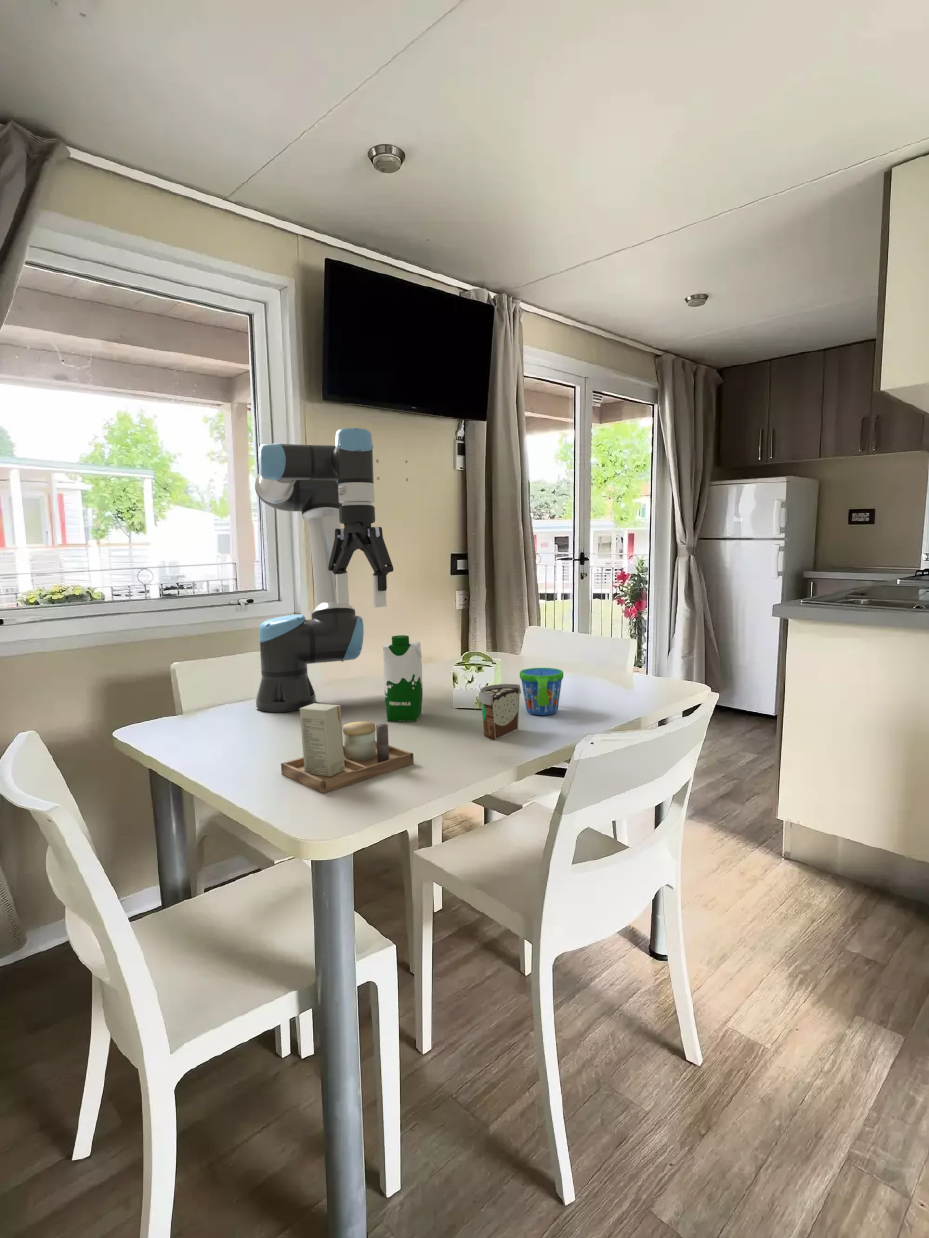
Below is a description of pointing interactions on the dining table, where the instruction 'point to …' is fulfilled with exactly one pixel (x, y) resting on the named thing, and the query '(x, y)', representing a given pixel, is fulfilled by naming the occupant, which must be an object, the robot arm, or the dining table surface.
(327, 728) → the skincare box
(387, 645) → the milk carton
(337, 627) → the robot arm
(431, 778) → the dining table surface
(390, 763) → the organizer
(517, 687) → the food container
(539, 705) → the snack cup
